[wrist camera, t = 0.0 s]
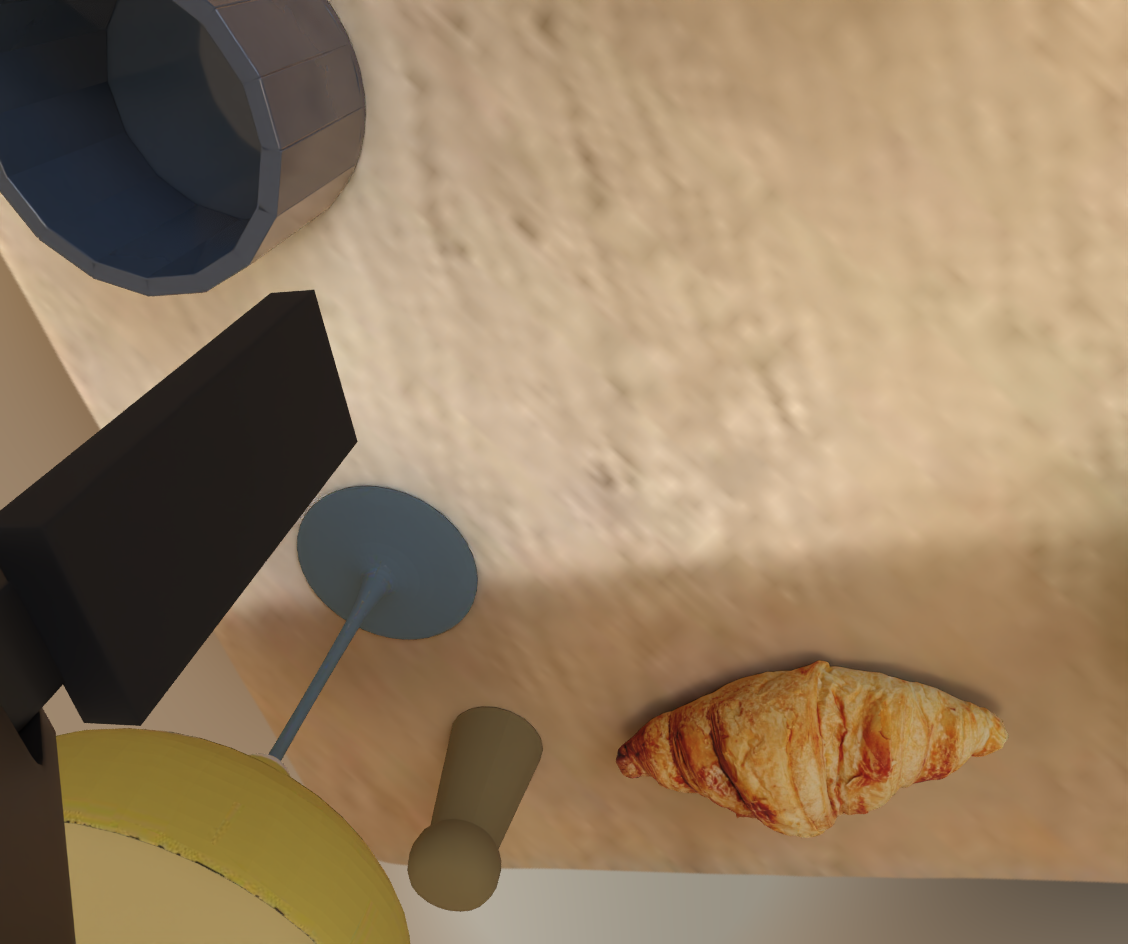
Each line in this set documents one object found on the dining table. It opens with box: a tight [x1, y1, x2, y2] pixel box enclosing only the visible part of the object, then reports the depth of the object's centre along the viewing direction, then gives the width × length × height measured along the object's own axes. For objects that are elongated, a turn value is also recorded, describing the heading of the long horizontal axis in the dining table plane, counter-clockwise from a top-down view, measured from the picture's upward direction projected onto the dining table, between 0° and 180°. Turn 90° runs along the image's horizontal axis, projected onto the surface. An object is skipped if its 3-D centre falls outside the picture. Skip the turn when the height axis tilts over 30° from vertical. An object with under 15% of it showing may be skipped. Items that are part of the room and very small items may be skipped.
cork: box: [408, 707, 543, 912], centre depth 56 cm, size 6×6×11 cm
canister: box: [0, 0, 365, 296], centre depth 39 cm, size 13×13×8 cm
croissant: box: [616, 660, 1008, 838], centre depth 53 cm, size 21×10×8 cm, turn 108°
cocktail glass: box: [56, 486, 478, 944], centre depth 45 cm, size 18×18×25 cm
